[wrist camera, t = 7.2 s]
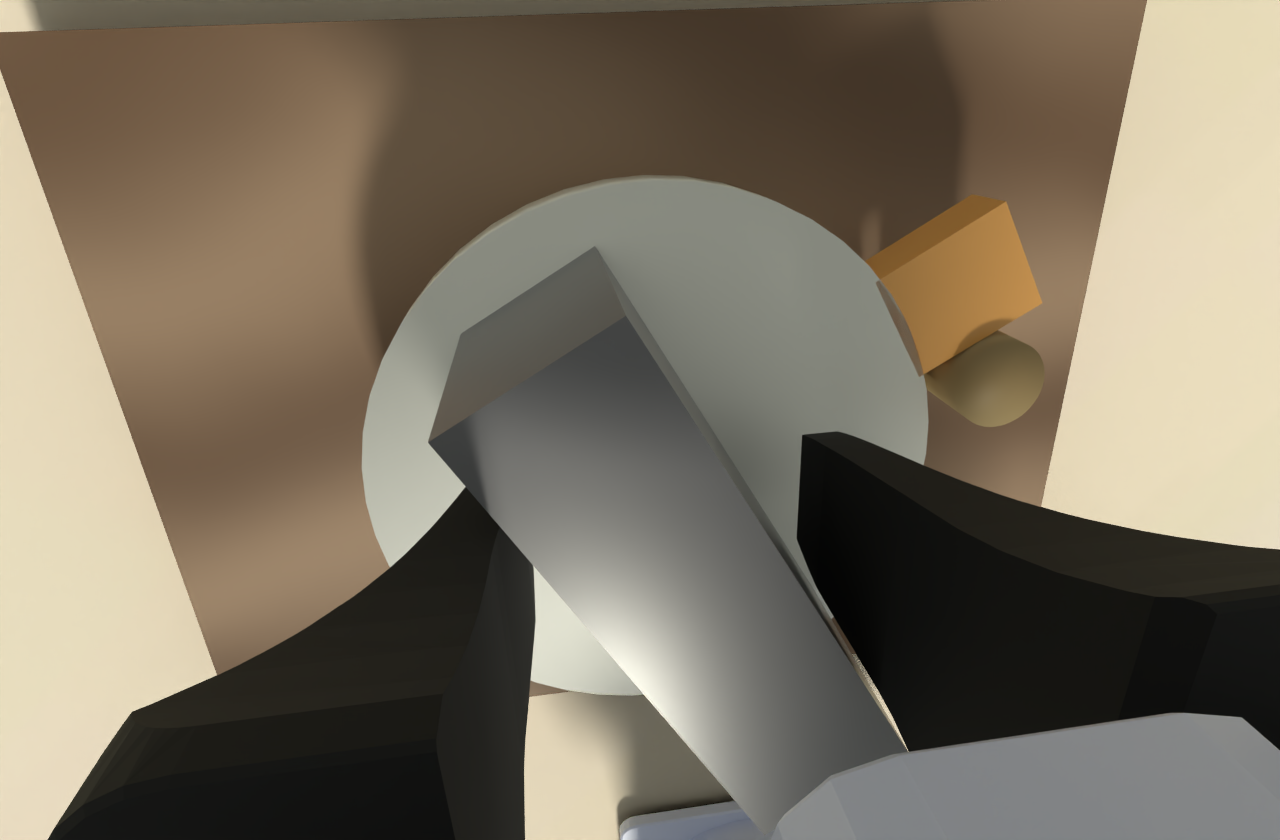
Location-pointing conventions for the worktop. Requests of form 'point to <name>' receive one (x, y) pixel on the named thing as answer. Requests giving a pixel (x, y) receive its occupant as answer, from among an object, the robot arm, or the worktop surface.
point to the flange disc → (680, 441)
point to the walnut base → (497, 186)
